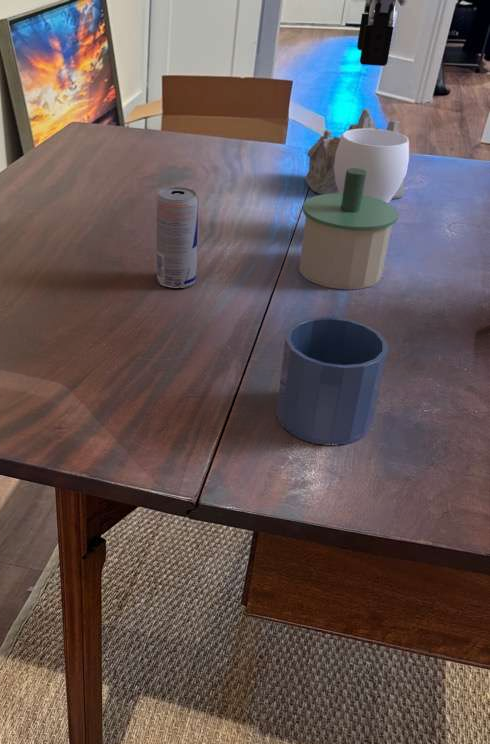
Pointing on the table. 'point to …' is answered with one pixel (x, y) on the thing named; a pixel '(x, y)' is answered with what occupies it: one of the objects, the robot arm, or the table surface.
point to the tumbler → (330, 379)
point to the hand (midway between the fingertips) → (371, 57)
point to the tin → (343, 255)
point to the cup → (373, 160)
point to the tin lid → (351, 207)
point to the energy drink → (177, 236)
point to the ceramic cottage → (324, 157)
